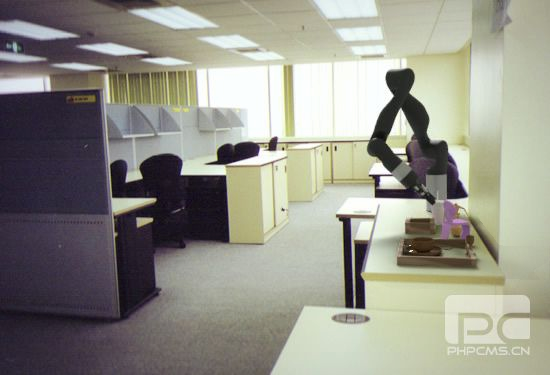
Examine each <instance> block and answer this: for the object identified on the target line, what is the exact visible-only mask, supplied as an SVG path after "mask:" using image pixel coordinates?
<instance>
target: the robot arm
mask: <svg viewBox="0 0 550 375" xmlns="http://www.w3.org/2000/svg"><path fill="white" fill-rule="evenodd" d="M384 79H385V83H386V84H385V85H386V87H387V88H388V89H389V90H388V91H390V93H391V94H392V98H391V99H390V100H389V101H388V103H387V104H386V105H385V106H384V107H383V108H382V109H381V110H380V113H379V114H378V117H377V119H376V122H375V125H374V128H373V132H372V134H371V135H370V138H369V141H368V142H367V145H366V152H367V154H368V155H369V156H370V157H371V158H372V157H373V158H377V159H378V160H379V161H380V162H381V164H382V166H383V167H384V168H385V169H386V170H387V172H389V173H390V174H391V175H392V177H393V178H394V179H395V180H397V181H398V183H400V184H401V185H402V186H403V187H404V188H405V189H409V188H411V187H412V190H413V191H414V192H415V193H417V195H418V196H419V197H421V199H423V200H425V201H426V206H425V207H426V208H425V209H426V211H428V212H432V211H431V205H434V204H435V203H436V201H435V200H437V191H438V200H443V201H445V200H448V199H447V198H448V197H447V194H448V192H447V191H448V190H447V188H448V186H447V185H448V183H447V182H448V181H447V171H448V163H449V161H448V160H449V145H448V143H447V141H446V140H443V139H431V138H430V137H429V134H428V128H429V125H430V115H429V113H428V111H427V109H426V107H425V105H424V104H423V103H422V102H421V101H420V100H419V99H418V98H416V97H415V96H414V95H413V94H412V93H410V92H411V90H412V88H413V86H414V83H415V82H416V81H415V80H416V75H415V72H414V70H413V69H412V68H410V67H395V68H394V67H393V68H390V69H388V70H387V71H386V72H385V78H384ZM400 110H401V112H403V114H404V117H405V118H406V119H405V120H406V121H407V123H408V125H409V127H410V128H411V131H412V132H413V134H414V137H415V140H416V141H417V144H418V146H419V147H418V148H419V149H420V151H421V154H422V156H423V157H424V159H426V160H430V161H431V160H432V161H433V160H434V161H435V163H434V164H433V165H431V166H429V167H426V169H425V185H424V184H423V183H422V182H421V181H419V180H418V179H419V178H420V175H419V174H418V173H417V172H416V171H415V170H414V168H412V167H411V166H410V165H409V164H407V163H406V162H405V161H403V160H402V158H400V157H399V156H398V155H397V154H396V153H395V152H394V151H393V150H392V149H391V147H390V146H389V145H388V144H387V140H388V137H389V136H390V134H391V132H392V129H393V127H394V124H395V121H396V119H397V117H398V114H399V111H400Z"/></svg>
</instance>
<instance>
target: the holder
mask: <svg viewBox="0 0 550 375" xmlns="http://www.w3.org/2000/svg"><path fill="white" fill-rule="evenodd" d="M404 234H409V235H410V234H416V235H418V234H420V235H422V234H423V235H424V234H425V235H436V225H435V219H434V218H432V217H406V218H405V222H404Z"/></svg>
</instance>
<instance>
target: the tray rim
mask: <svg viewBox="0 0 550 375" xmlns="http://www.w3.org/2000/svg"><path fill="white" fill-rule="evenodd" d="M413 238H414V237H400V240H399V246H398V249H397V256H396V265H399V266H400V265H402V266H404V265H405V266H430V267H458V268H459V267H461V268H476V267H477V259H476V256H475V255H476V254H475V255H474V253H475V252H474V249H473V247H469V245H468V244H467V243H466V239H460V238H449V239H441V238H440V237H439V238H437V237H436V238H435V237H433V239H434V245H436V246H440V247H442V248H445V247H446V248H447V247H448V248H449V247H450V248H465V250H466V253H467V252H468V255H467V257H464V256H463V257H462V256H460V257H459V256H457V257H456V256H434V257H430V256H410V255H404V252H405V250H404V249H405V246H404V245H408V246H409V245H412V239H413Z"/></svg>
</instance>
